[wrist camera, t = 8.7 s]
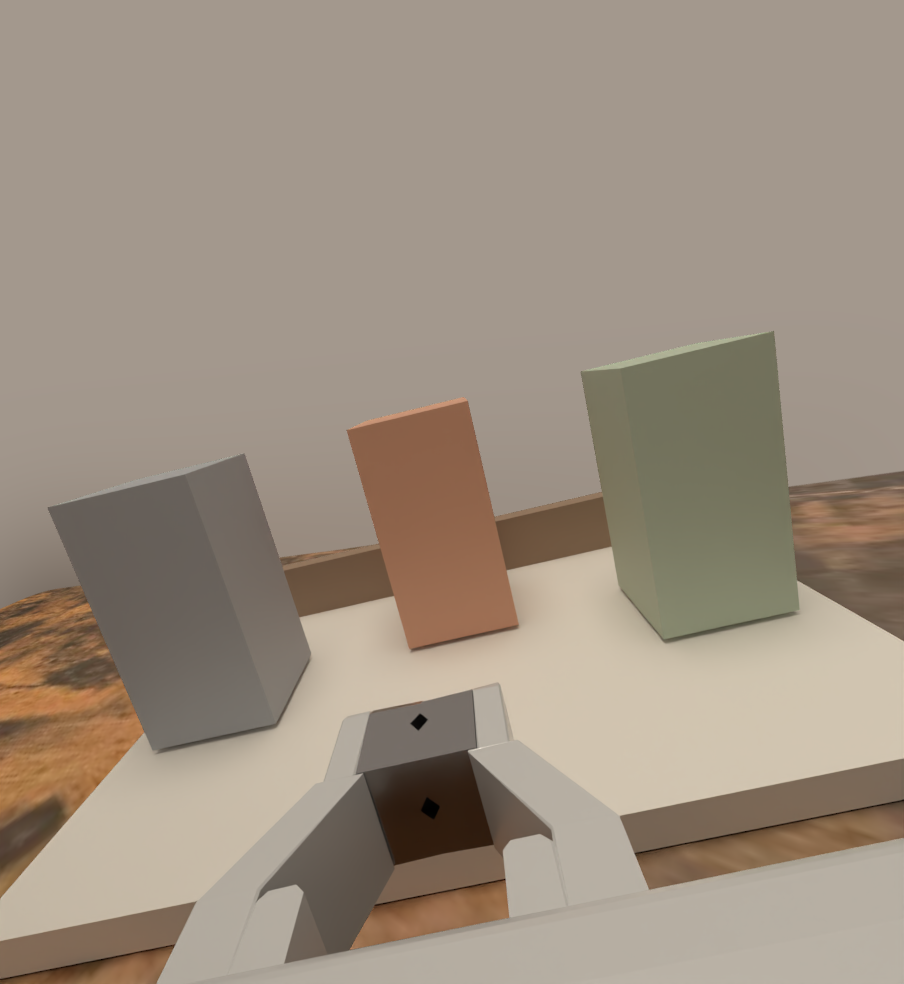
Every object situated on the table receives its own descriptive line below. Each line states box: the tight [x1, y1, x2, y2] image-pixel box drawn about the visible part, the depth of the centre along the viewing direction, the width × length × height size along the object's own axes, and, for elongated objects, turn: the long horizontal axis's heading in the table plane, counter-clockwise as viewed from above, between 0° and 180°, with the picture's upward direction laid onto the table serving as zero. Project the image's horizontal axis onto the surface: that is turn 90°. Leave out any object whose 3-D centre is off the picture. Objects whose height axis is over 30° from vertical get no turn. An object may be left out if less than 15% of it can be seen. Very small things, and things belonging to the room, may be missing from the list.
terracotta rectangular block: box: [347, 397, 519, 649], centre depth 23 cm, size 5×5×10 cm
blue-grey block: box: [48, 454, 311, 750], centre depth 20 cm, size 5×5×10 cm
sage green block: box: [581, 331, 800, 639], centre depth 20 cm, size 5×5×10 cm
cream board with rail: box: [0, 492, 904, 979], centre depth 21 cm, size 28×19×4 cm
